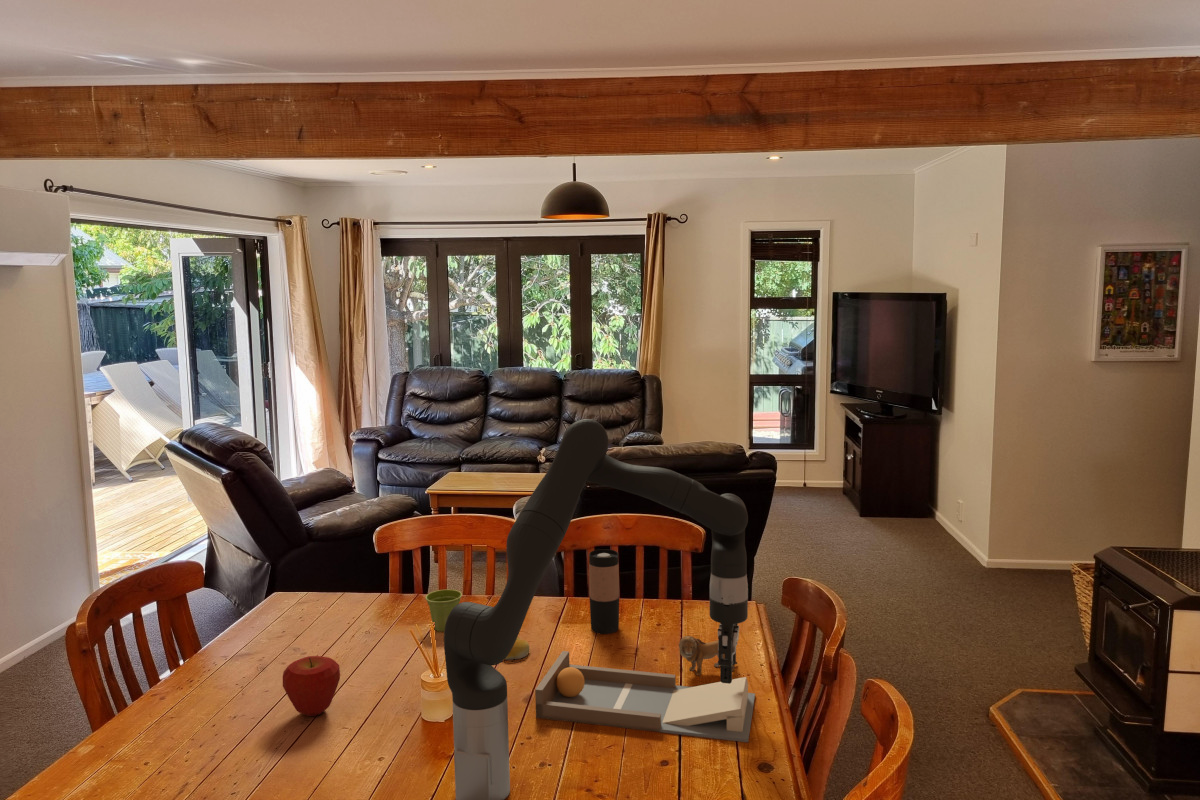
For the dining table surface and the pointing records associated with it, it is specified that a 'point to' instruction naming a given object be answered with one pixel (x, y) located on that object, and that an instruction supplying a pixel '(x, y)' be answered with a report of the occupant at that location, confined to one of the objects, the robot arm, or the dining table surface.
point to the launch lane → (648, 702)
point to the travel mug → (604, 590)
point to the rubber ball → (570, 682)
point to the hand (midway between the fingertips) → (728, 673)
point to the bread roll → (518, 650)
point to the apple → (311, 683)
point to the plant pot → (442, 605)
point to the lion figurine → (698, 652)
